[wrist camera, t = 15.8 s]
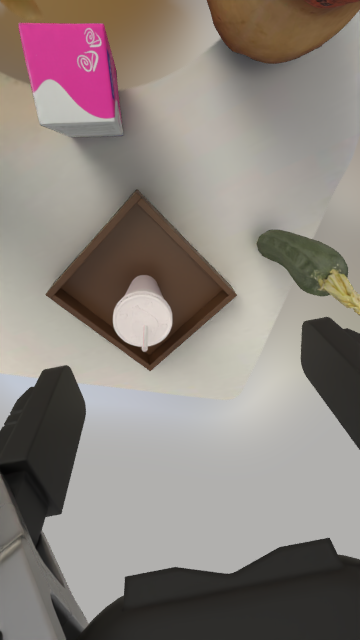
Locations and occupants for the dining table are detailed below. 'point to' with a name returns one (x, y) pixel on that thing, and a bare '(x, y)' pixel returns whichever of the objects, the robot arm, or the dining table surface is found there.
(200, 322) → the tray
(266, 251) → the vegetable
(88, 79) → the supplement box
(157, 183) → the dining table surface
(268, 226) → the dining table surface
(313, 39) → the butternut squash
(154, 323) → the smoothie
